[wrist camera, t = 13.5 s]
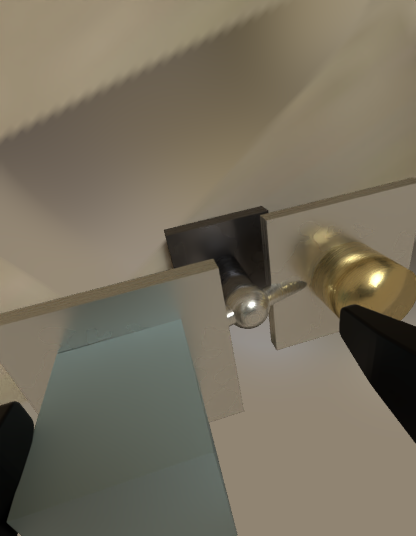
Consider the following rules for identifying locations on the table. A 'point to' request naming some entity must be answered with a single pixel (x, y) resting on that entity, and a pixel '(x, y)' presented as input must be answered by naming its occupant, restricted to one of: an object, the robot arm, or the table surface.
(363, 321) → the robot arm
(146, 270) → the table surface
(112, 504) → the block
